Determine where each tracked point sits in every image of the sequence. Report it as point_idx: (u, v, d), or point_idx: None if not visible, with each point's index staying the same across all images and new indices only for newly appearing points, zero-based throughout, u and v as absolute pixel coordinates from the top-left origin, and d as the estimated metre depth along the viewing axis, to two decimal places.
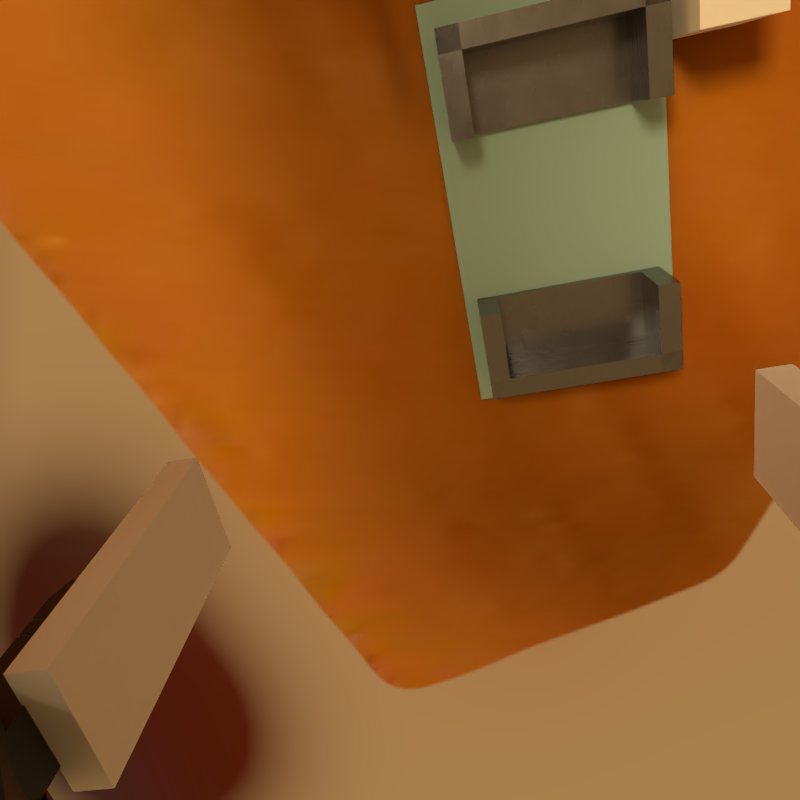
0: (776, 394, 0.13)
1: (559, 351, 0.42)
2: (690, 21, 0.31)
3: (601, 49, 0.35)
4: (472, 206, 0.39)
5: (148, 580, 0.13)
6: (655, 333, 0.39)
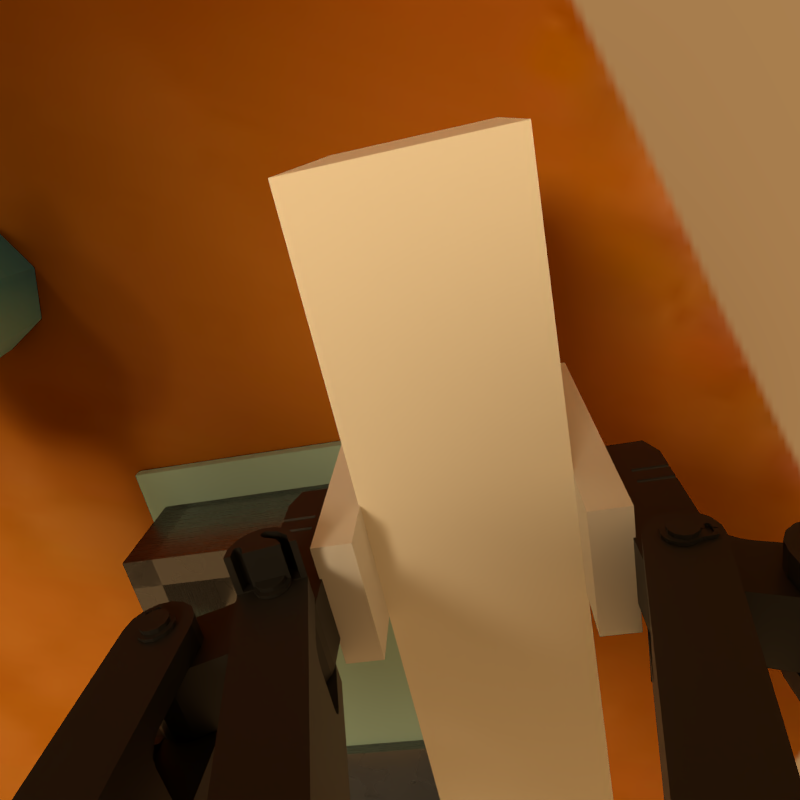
0: None
1: None
2: None
3: None
4: None
5: None
6: None
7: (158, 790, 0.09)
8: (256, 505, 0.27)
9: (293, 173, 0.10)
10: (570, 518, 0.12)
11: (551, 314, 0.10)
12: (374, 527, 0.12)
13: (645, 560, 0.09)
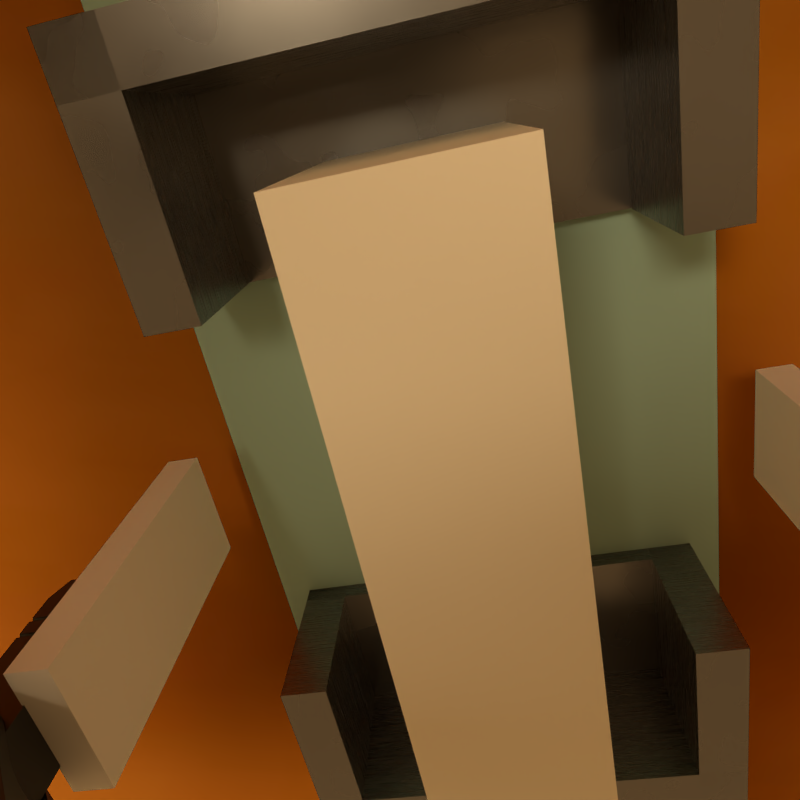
0: (776, 395, 0.13)
1: None
2: None
3: (551, 81, 0.14)
4: (277, 423, 0.18)
5: (148, 580, 0.13)
6: (684, 713, 0.17)
7: None
8: None
9: (281, 187, 0.09)
10: (581, 557, 0.11)
11: (564, 341, 0.10)
12: (370, 565, 0.11)
13: None
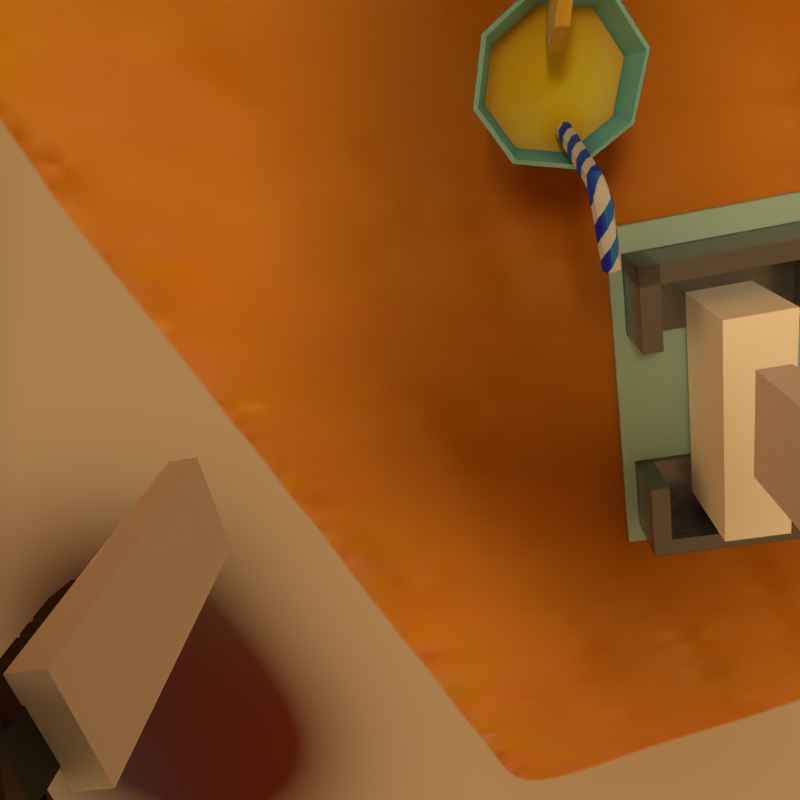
0: (776, 394, 0.13)
1: None
2: (717, 523, 0.42)
3: (770, 268, 0.40)
4: (639, 387, 0.44)
5: (148, 580, 0.13)
6: None
7: None
8: (700, 243, 0.39)
9: (730, 319, 0.35)
10: None
11: (797, 357, 0.36)
12: (727, 424, 0.38)
13: None
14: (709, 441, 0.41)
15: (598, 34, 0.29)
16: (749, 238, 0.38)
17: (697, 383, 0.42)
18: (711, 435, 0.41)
